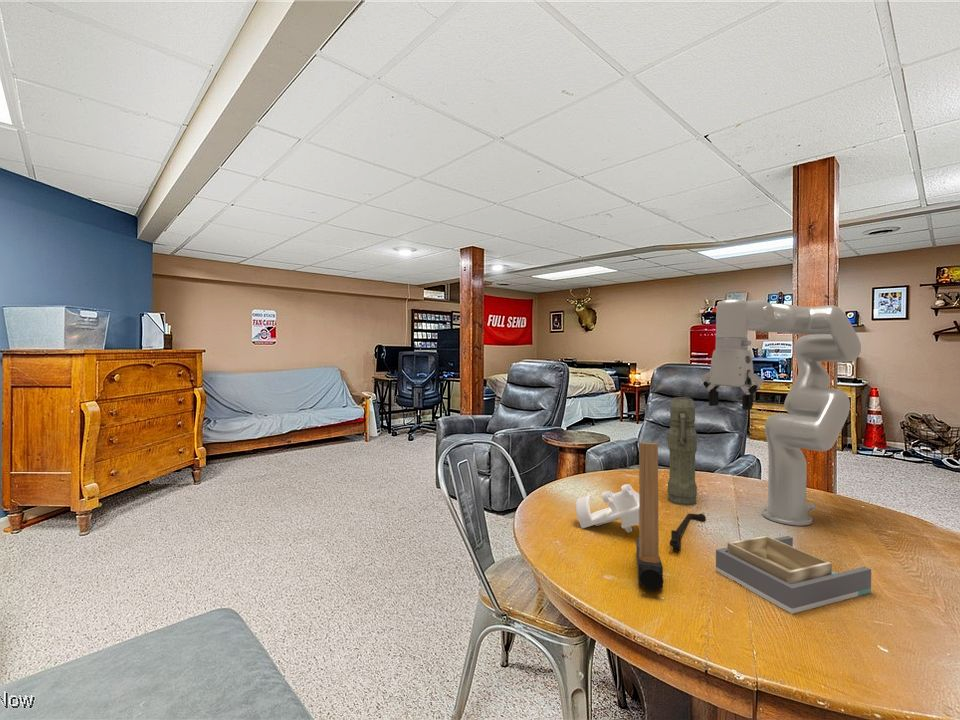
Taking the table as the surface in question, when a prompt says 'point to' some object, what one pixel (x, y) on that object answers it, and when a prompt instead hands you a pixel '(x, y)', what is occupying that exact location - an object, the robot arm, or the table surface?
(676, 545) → the wrench
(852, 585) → the bay
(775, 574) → the crate
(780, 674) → the table surface
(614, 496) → the white plastic bracket
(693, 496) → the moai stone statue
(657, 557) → the hammer
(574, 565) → the table surface
